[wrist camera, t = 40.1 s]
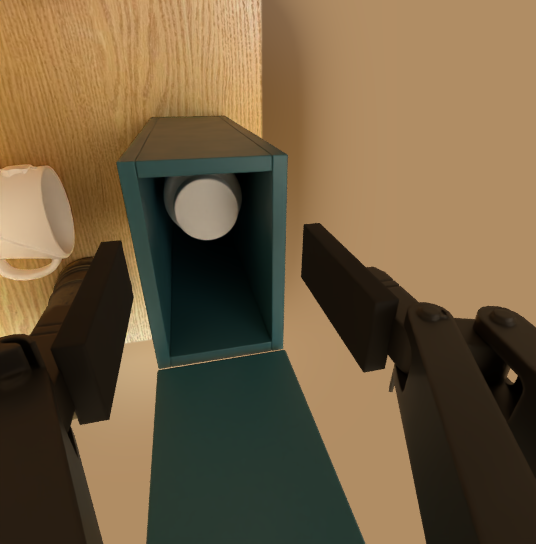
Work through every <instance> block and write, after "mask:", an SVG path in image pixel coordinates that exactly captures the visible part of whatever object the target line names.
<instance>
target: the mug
mask: <svg viewBox="0 0 536 544" xmlns="http://www.w3.org/2000/svg"><path fill="white" fill-rule="evenodd" d="M74 244H75V231H74V223H73V217H72V212H71V208H70V204H69V201H68V197H67V194H66V192H65V189H64V187H63V184H62V182H61V180H60V178H59V176H58V175H57V173H56V172H55V171H54V169H53V168H51V167H50V166H48V165H45V166H39V167H34V166H32V165H30V164H25V165H13V166H6V167H4V168H2V169H0V275H2V276H4V277H6V278H8V279H12V280H33V279H38V278H41V277H44V276H46V275H48V274H50V273H52V272H53V271H54V270H55V269H56V268H57V267H58V265H59V264H60V262H61V260H62V258H68V257H69V256H70V255H71V254H72V252H73V249H74ZM5 259H52V262H51V263H50V264H48V265H46V266H44V267H40V268H36V269H27V270H25V269H18V268H15V267H12V266H11V265H9V264H8V262H7V261H6V260H5Z"/></svg>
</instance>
